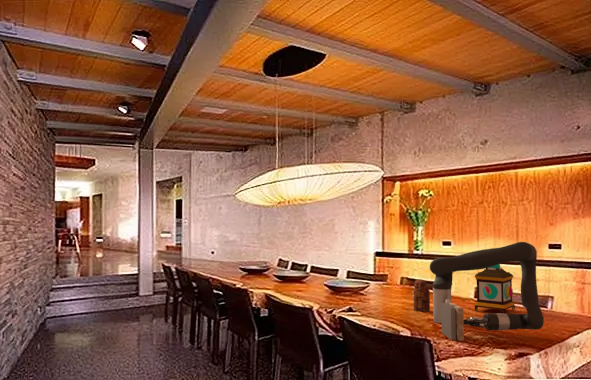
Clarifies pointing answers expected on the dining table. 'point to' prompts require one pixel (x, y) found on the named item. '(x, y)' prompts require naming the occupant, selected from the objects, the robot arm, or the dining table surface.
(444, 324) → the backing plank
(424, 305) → the wooden figurine
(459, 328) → the ash plank
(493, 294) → the decorative lantern
